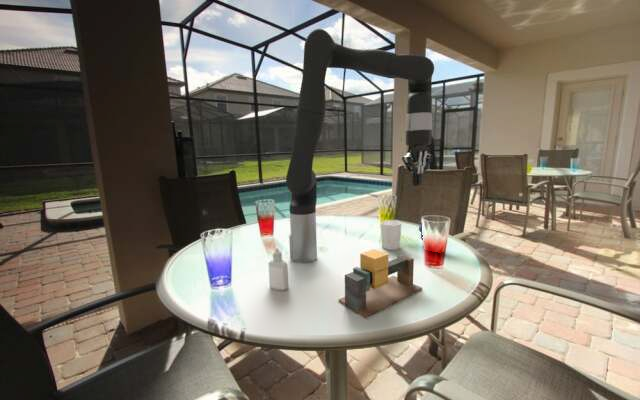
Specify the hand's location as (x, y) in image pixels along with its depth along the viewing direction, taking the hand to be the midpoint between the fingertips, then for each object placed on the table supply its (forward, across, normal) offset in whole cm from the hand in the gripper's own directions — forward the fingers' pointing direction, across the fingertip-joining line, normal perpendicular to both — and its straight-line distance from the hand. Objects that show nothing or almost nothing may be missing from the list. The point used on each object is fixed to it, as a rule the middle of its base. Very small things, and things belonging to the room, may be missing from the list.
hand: (416, 185), depth 93 cm
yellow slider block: (+22, +26, +6) cm, 35 cm away
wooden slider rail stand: (+27, +23, +6) cm, 36 cm away
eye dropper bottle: (+27, +42, -16) cm, 53 cm away
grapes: (+27, -18, -7) cm, 34 cm away
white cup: (+27, -8, -17) cm, 33 cm away
